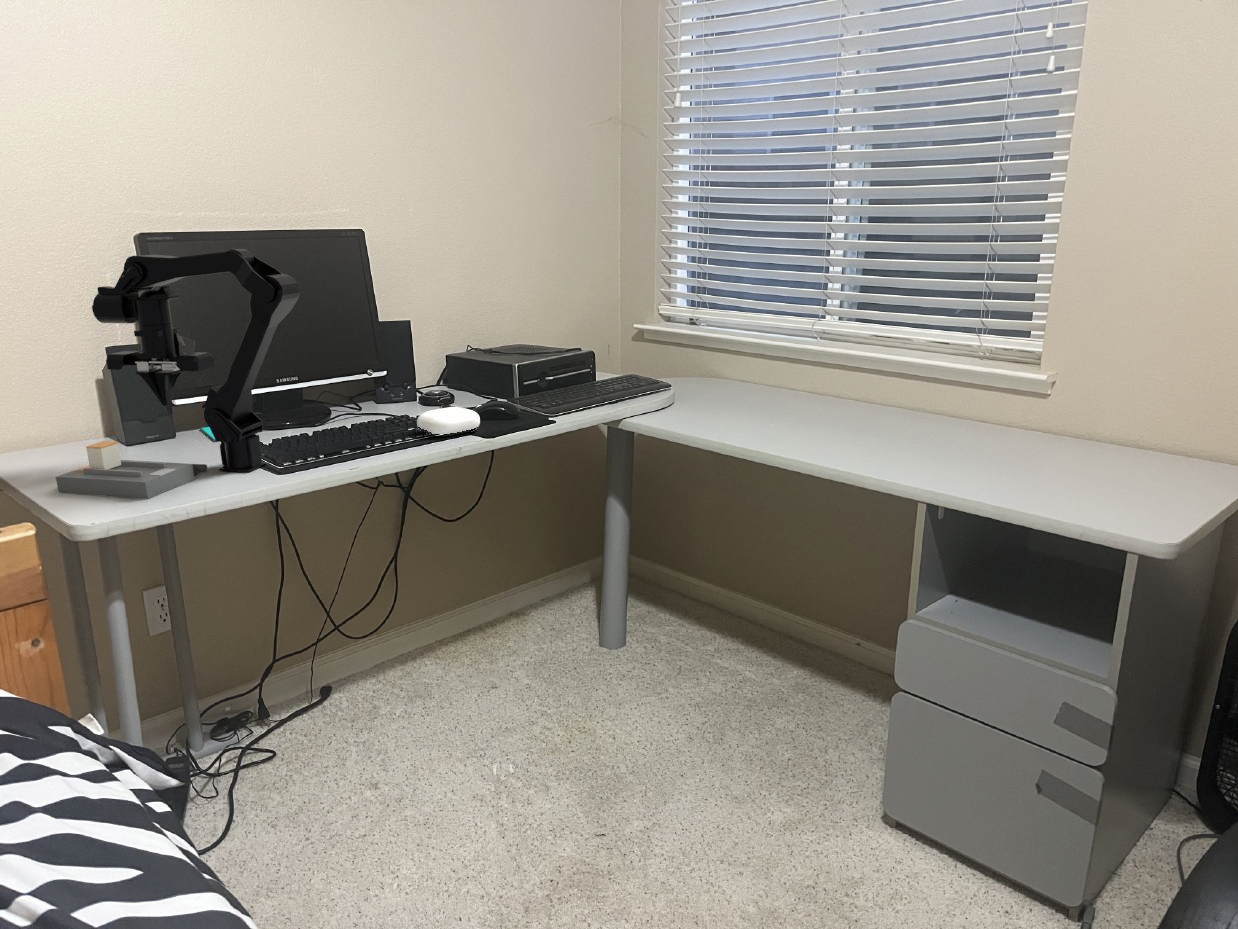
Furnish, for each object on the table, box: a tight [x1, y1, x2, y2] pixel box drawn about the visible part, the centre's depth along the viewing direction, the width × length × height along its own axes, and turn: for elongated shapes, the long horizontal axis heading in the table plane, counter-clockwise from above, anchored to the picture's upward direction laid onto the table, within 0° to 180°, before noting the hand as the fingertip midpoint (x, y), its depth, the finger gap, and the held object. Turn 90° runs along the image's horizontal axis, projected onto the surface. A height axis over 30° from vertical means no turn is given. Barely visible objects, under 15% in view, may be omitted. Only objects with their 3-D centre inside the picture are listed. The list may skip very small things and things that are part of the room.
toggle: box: [85, 440, 122, 469], centre depth 156 cm, size 3×4×4 cm
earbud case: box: [416, 406, 481, 434], centre depth 196 cm, size 10×13×5 cm
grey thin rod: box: [191, 463, 208, 473], centre depth 166 cm, size 14×1×1 cm, turn 82°
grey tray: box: [55, 459, 195, 500], centre depth 156 cm, size 18×12×4 cm, turn 78°
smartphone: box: [199, 426, 221, 443], centre depth 196 cm, size 7×1×15 cm
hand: (166, 405), depth 167 cm, fingers closed
